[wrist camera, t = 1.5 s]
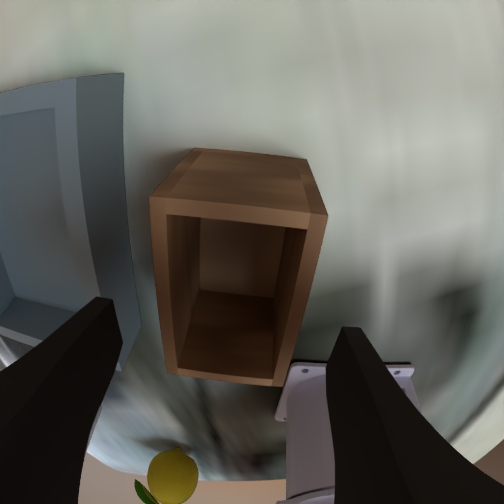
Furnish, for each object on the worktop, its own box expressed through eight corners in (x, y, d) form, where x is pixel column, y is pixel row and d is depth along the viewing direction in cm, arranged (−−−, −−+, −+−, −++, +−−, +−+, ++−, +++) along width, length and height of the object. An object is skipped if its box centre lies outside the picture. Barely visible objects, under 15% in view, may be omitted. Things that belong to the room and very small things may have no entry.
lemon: (218, 452, 30) (208, 531, 22) (191, 461, 33) (179, 530, 24) (166, 431, 28) (147, 516, 20) (143, 441, 31) (125, 514, 22)
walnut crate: (306, 158, 14) (328, 215, 9) (281, 298, 18) (282, 386, 13) (195, 147, 14) (149, 196, 9) (193, 288, 18) (167, 372, 13)
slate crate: (124, 72, 12) (76, 77, 8) (141, 324, 20) (122, 371, 16) (-24, 99, 12) (-71, 115, 8) (18, 296, 20) (-8, 331, 16)
